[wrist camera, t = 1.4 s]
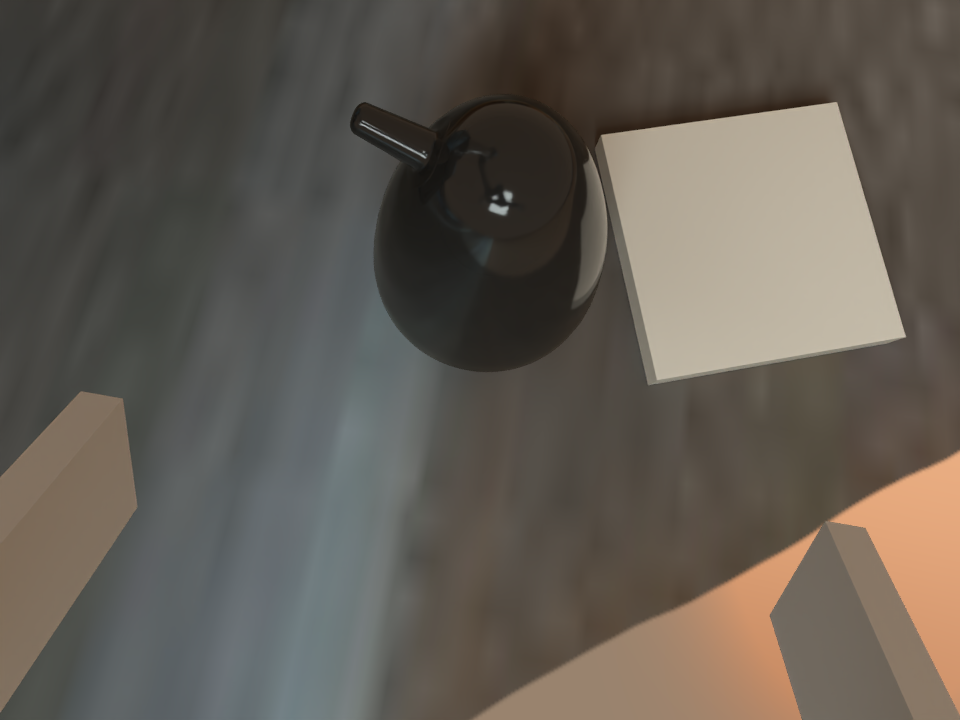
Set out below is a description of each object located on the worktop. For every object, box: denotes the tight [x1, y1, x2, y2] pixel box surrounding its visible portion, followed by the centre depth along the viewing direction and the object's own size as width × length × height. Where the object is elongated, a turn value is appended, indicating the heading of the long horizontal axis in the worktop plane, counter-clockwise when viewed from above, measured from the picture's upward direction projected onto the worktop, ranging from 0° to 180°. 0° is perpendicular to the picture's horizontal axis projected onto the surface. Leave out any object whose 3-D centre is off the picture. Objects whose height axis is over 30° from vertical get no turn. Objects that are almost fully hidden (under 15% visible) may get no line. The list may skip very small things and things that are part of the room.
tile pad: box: [595, 102, 906, 385], centre depth 38 cm, size 13×13×2 cm
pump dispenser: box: [350, 94, 608, 372], centre depth 30 cm, size 10×10×15 cm
